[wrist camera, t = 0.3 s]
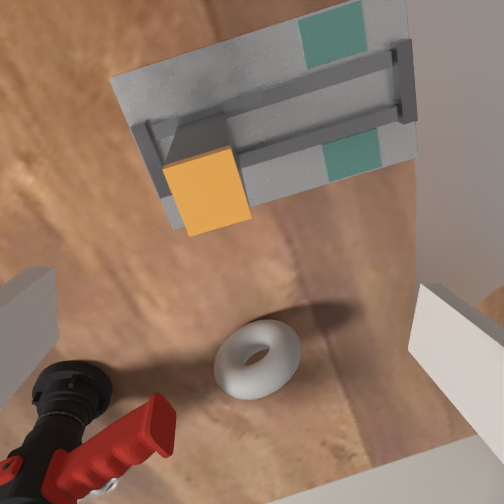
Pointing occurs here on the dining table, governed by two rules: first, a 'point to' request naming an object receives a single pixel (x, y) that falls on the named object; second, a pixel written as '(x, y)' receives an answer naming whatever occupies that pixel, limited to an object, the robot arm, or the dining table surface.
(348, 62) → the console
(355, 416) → the dining table surface
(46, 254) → the dining table surface
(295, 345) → the donut
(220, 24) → the dining table surface
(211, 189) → the fader knob
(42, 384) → the fire hose nozzle
